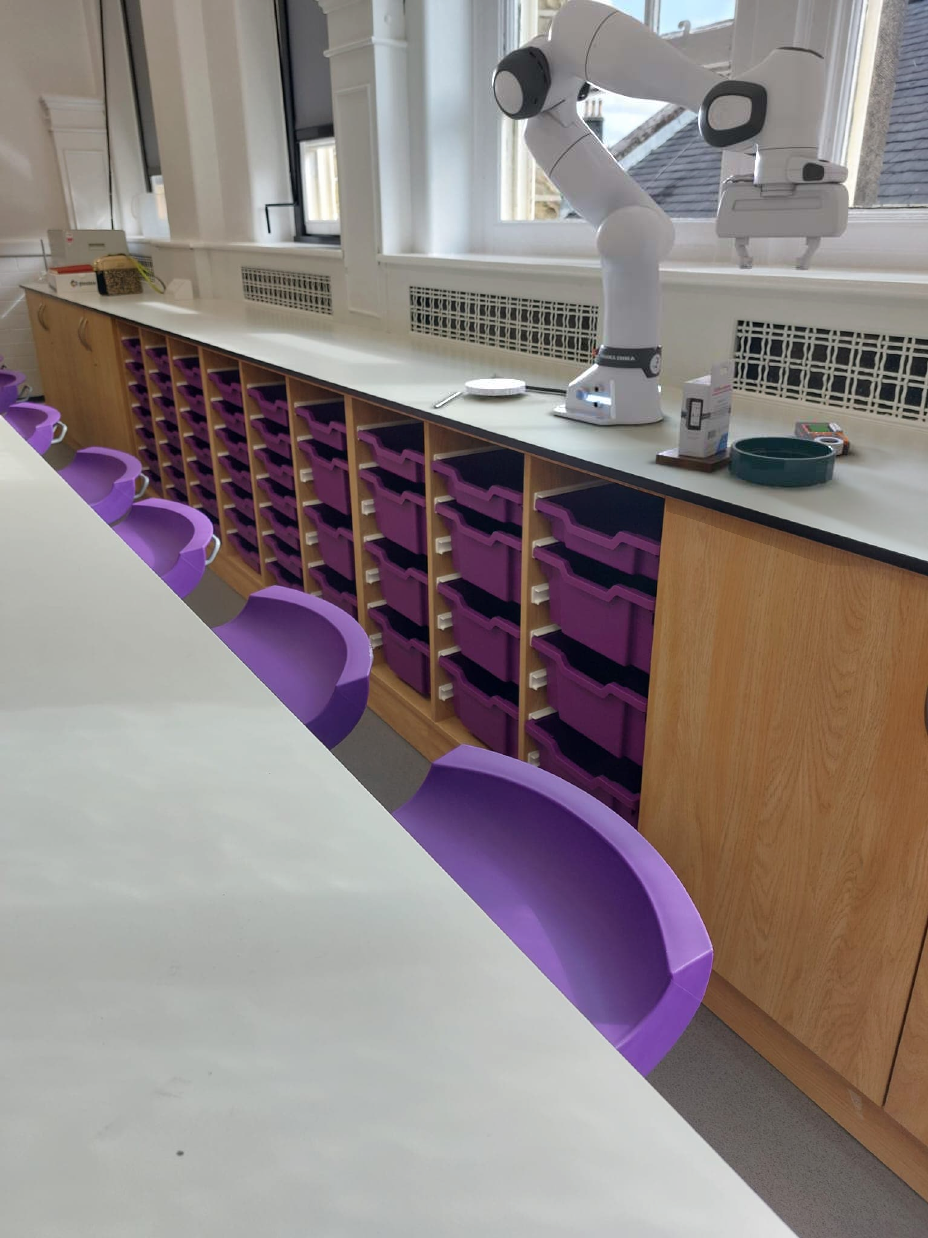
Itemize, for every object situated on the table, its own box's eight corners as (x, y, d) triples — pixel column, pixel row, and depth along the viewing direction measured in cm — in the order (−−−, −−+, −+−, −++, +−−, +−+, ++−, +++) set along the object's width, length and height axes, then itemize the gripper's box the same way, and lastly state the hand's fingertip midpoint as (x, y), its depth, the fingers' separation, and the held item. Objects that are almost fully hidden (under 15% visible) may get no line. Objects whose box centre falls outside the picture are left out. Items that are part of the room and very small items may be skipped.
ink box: (700, 445, 149) (708, 355, 143) (727, 449, 146) (737, 357, 140) (675, 454, 143) (683, 361, 137) (704, 459, 140) (713, 364, 134)
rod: (434, 409, 191) (433, 406, 191) (458, 394, 208) (458, 391, 208) (437, 409, 191) (437, 406, 191) (461, 394, 208) (461, 391, 207)
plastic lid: (475, 401, 197) (475, 390, 196) (458, 391, 209) (458, 380, 208) (533, 397, 201) (534, 386, 199) (513, 387, 213) (513, 377, 212)
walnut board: (655, 463, 144) (656, 454, 144) (692, 449, 152) (693, 441, 152) (710, 473, 138) (711, 463, 137) (745, 458, 146) (747, 449, 145)
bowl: (710, 477, 135) (713, 449, 133) (755, 459, 145) (758, 432, 144) (806, 495, 126) (810, 464, 124) (847, 474, 136) (852, 445, 134)
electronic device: (812, 442, 145) (796, 419, 159) (809, 459, 147) (793, 435, 160) (855, 443, 144) (835, 420, 158) (852, 460, 146) (832, 436, 159)
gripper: (712, 174, 138) (704, 268, 144) (842, 167, 125) (827, 271, 131) (732, 175, 142) (723, 267, 148) (859, 168, 129) (844, 269, 135)
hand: (773, 269), depth 139 cm, fingers open, 8 cm apart
